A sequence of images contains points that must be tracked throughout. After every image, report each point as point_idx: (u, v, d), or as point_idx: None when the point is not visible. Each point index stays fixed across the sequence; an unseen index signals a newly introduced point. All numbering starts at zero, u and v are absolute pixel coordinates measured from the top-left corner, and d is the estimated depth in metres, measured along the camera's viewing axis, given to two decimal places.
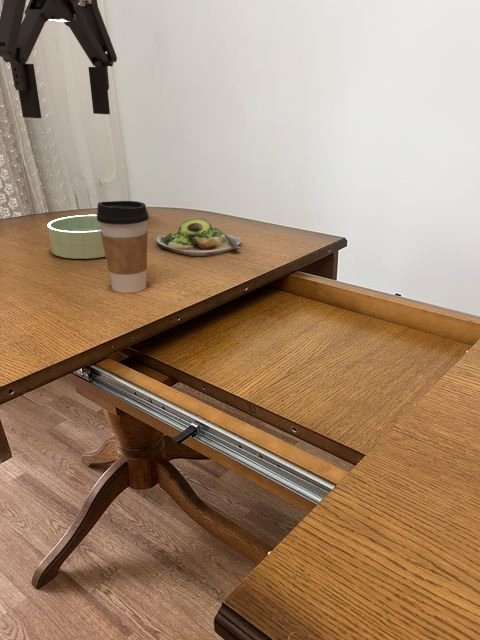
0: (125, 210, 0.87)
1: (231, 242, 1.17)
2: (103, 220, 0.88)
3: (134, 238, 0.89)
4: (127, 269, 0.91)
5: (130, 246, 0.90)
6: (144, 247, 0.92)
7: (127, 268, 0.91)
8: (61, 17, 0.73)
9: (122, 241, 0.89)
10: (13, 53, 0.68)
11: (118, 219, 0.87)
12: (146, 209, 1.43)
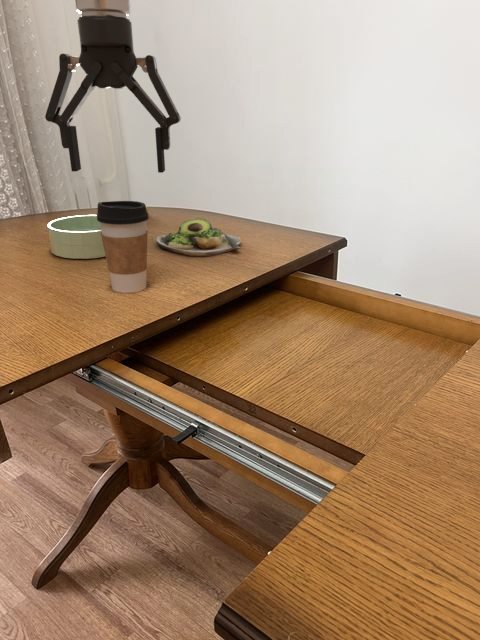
0: (125, 210, 0.87)
1: (231, 242, 1.17)
2: (103, 220, 0.88)
3: (134, 238, 0.89)
4: (127, 269, 0.91)
5: (130, 246, 0.90)
6: (144, 247, 0.92)
7: (127, 268, 0.91)
8: (108, 85, 0.81)
9: (122, 241, 0.89)
10: (50, 119, 0.83)
11: (118, 219, 0.87)
12: (146, 209, 1.43)
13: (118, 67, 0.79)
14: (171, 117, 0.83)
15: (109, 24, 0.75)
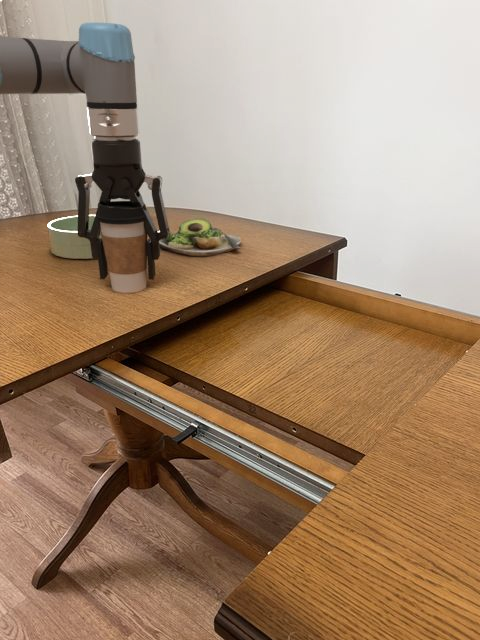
0: (125, 210, 0.87)
1: (231, 242, 1.17)
2: (103, 220, 0.88)
3: (134, 238, 0.89)
4: (127, 269, 0.91)
5: (130, 246, 0.90)
6: (144, 247, 0.92)
7: (127, 268, 0.91)
8: (118, 197, 0.88)
9: (122, 241, 0.89)
10: (82, 235, 0.91)
11: (118, 219, 0.87)
12: None
13: (127, 183, 0.86)
14: (161, 232, 0.91)
15: (120, 149, 0.83)
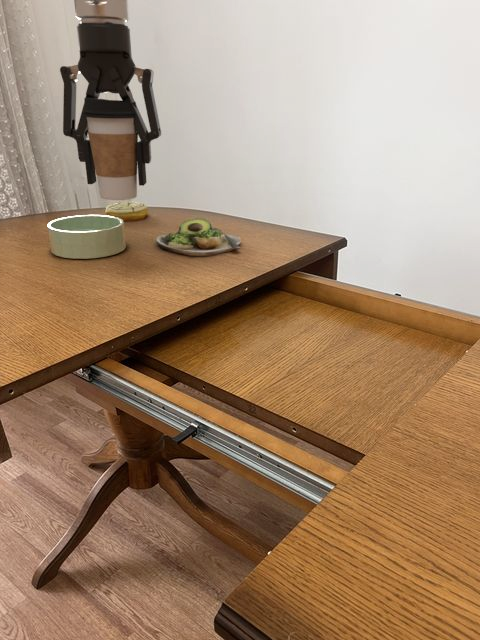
0: (113, 103, 0.81)
1: (231, 242, 1.17)
2: (90, 114, 0.82)
3: (123, 135, 0.84)
4: (115, 171, 0.86)
5: (118, 144, 0.84)
6: (134, 148, 0.86)
7: (116, 170, 0.86)
8: (106, 90, 0.83)
9: (110, 138, 0.83)
10: (68, 133, 0.85)
11: (106, 113, 0.81)
12: (146, 209, 1.43)
13: (116, 74, 0.81)
14: (152, 131, 0.85)
15: (108, 31, 0.77)
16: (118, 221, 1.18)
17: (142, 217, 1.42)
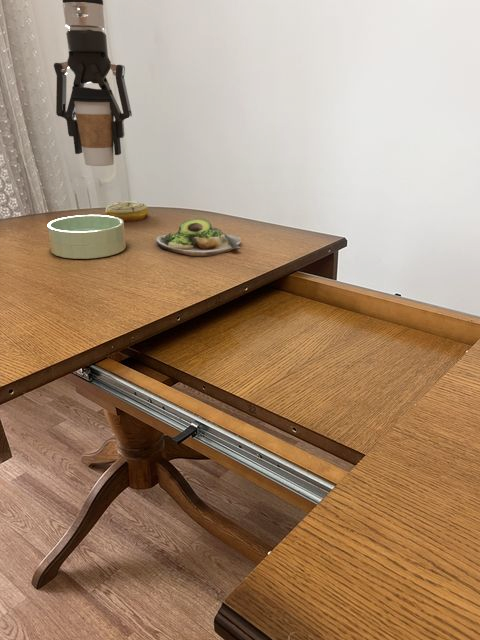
0: (94, 90, 1.08)
1: (231, 242, 1.17)
2: (76, 99, 1.09)
3: (102, 115, 1.10)
4: (96, 143, 1.12)
5: (98, 122, 1.10)
6: (110, 126, 1.13)
7: (96, 142, 1.12)
8: (88, 81, 1.09)
9: (92, 117, 1.10)
10: (60, 114, 1.12)
11: (88, 98, 1.08)
12: (146, 209, 1.43)
13: (96, 68, 1.07)
14: (124, 113, 1.12)
15: (89, 36, 1.04)
16: (118, 221, 1.18)
17: (142, 217, 1.42)
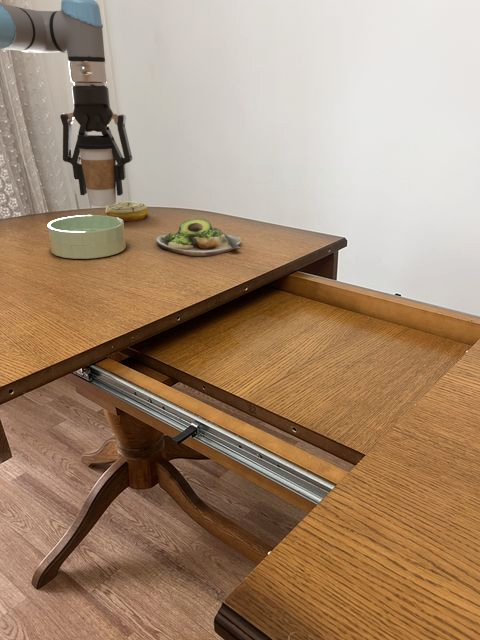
0: (97, 138, 1.17)
1: (231, 242, 1.17)
2: (81, 147, 1.18)
3: (105, 160, 1.20)
4: (100, 185, 1.22)
5: (101, 167, 1.20)
6: (113, 169, 1.22)
7: (100, 185, 1.22)
8: (92, 130, 1.19)
9: (96, 163, 1.19)
10: (66, 159, 1.21)
11: (92, 146, 1.17)
12: (146, 209, 1.43)
13: (99, 119, 1.17)
14: (125, 157, 1.21)
15: (92, 91, 1.13)
16: (118, 221, 1.18)
17: (142, 217, 1.42)
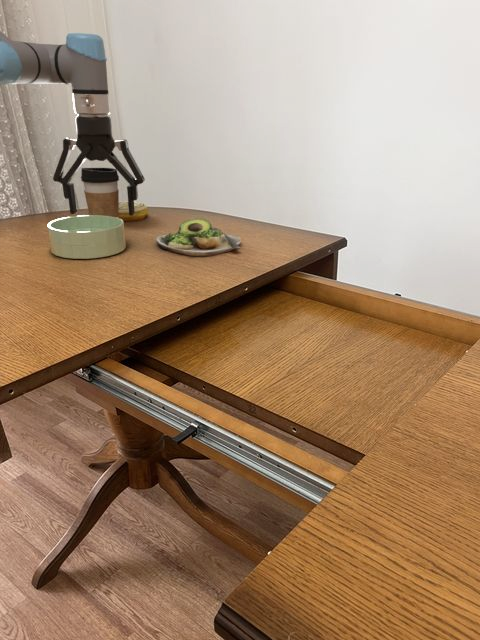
0: (101, 172, 1.20)
1: (231, 242, 1.17)
2: (85, 180, 1.21)
3: (108, 193, 1.23)
4: None
5: (105, 199, 1.23)
6: (116, 201, 1.26)
7: None
8: (95, 159, 1.22)
9: (99, 195, 1.22)
10: (56, 180, 1.23)
11: (96, 179, 1.21)
12: (146, 209, 1.43)
13: (102, 148, 1.20)
14: (137, 179, 1.24)
15: (96, 123, 1.16)
16: (118, 221, 1.18)
17: (142, 217, 1.42)
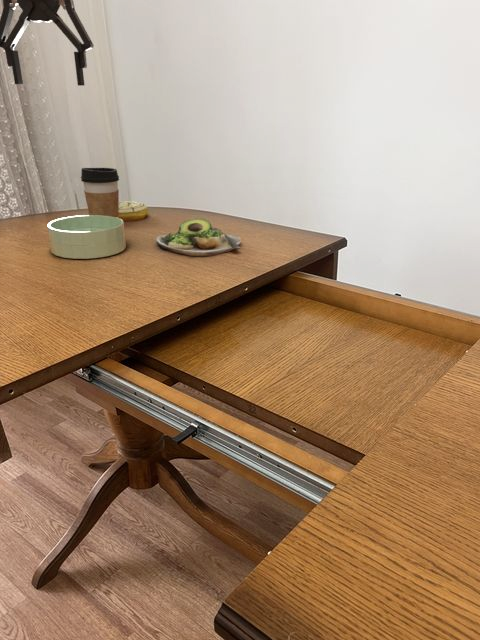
0: (101, 172, 1.20)
1: (231, 242, 1.17)
2: (85, 180, 1.21)
3: (108, 193, 1.23)
4: None
5: (105, 199, 1.23)
6: (116, 201, 1.26)
7: None
8: (38, 19, 1.14)
9: (99, 195, 1.22)
10: None
11: (96, 179, 1.21)
12: (146, 209, 1.43)
13: (44, 5, 1.12)
14: (85, 43, 1.16)
15: None
16: (118, 221, 1.18)
17: (142, 217, 1.42)
